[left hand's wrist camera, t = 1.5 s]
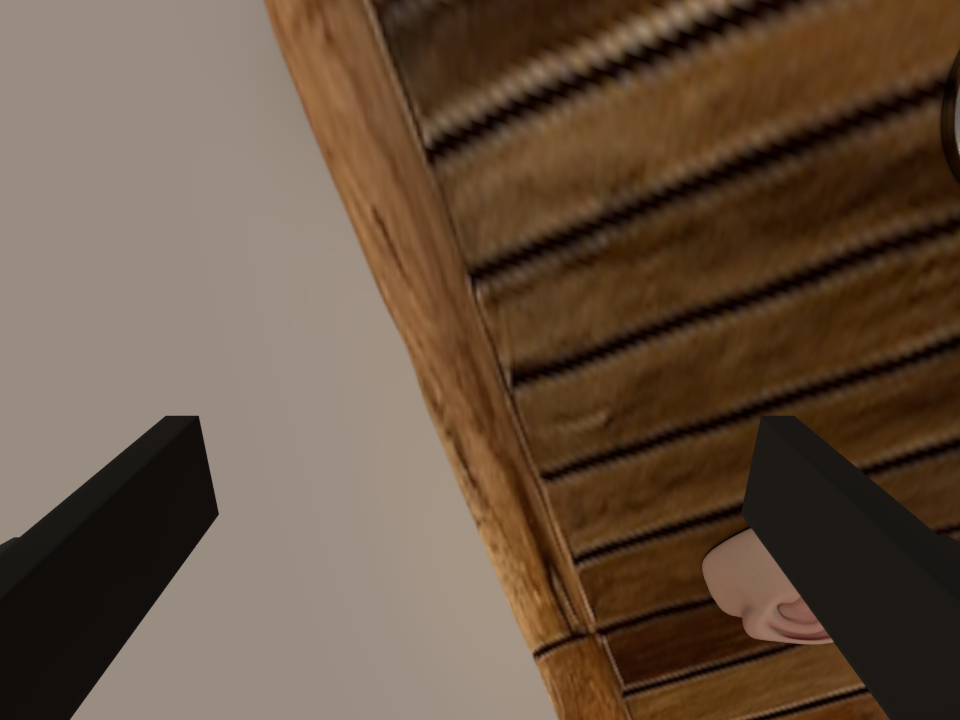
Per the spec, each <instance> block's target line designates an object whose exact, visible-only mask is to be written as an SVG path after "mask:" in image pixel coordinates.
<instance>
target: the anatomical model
mask: <svg viewBox="0 0 960 720" xmlns="http://www.w3.org/2000/svg"><path fill="white" fill-rule="evenodd" d="M702 570H703V575H704V578H705V581H706V583H707V586H708V588H709V591H710V593H711V595H712V597H713V598H714V600H715V601H716V603H717V604H718V606H719V607H720V608H721V609H722V610H723V611H724V612H726V613H727V614H730V615H733V616H737V617H742V620H743V626H744V629H745V631H746V632H747V634H748V635H750V636H751V637H753V638H756V639H761V640H769V641H778V642H787V643H797V644H825V643H832V642H833V640H832V639H831V638H830V636H829V635H828V633H827V632H826V631H825V629H824V628H823V626H822V625H821V624H820V622H819V621H818V620H817V618H816V617H815V615H814V614H813V613H812V611H811V610H810V609H809V607H808V606H807V604H806V603H805V602H804V600H803V599H802V598H801V596H800V595H799V593H798V592H797V591H796V589H795V588H794V587H793V585H792V584H791V582H790V581H789V580H788V578H787V577H786V575H785V574H784V573H783V571H782V570H781V569H780V567H779V566H778V564H777V563H776V562H775V560H774V559H773V558H772V556H771V555H770V553H769V552H768V551H767V549H766V548H765V547H764V545H763V544H762V542H761V541H760V540H759V538H758V537H757V536H756V534H755V533H754V531H753V530H752V529H751V528H750V529H747V530H745V531H743V532H741V533H739V534H737V535H735V536H733V537H732V538H730V539H728V540H726V541H725V542H723V543H722V544H720V545H719V546H717V547H716V548H714V549H713V550H712V551H711V552H709V553H708V554H707V556H706V557H705V559H704V561H703V563H702Z"/></svg>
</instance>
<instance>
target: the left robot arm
mask: <svg viewBox="0 0 960 720" xmlns="http://www.w3.org/2000/svg"><path fill="white" fill-rule="evenodd" d="M942 133H943V142H944V147H945V152H946V155H947V158H948V161H949V163H950V165H951V168H952V170H953V172H954V173H955V175H956V177H957V178H958V180H959V181H960V52H959V54H958V57H957V59H956V61H955V64H954V66H953V69H952V72H951V74H950V78H949V81H948V84H947V88H946V93H945V98H944V103H943V113H942ZM218 515H219V513H218V508H217V503H216V498H215V493H214V488H213V483H212V479H211V474H210V469H209V464H208V459H207V454H206V449H205V444H204V440H203V435H202V430H201V425H200V420H199V416H165V417H164V418H163V419H161V420H160V421H159V422H158V423H157V424H155V425H154V426H153V427H152V428H151V429H149V430H148V431H147V432H146V433H145V434H143V435H142V436H141V437H140V438H139V439H137V440H136V441H135V442H134V443H133V444H131V445H130V446H129V447H128V448H126V449H125V450H124V451H123V452H122V453H120V454H119V455H118V456H117V457H116V458H114V459H113V460H112V461H111V462H110V463H109V464H107V465H106V466H105V467H104V468H103V469H101V470H100V471H99V472H98V473H96V474H95V475H94V476H93V477H92V478H90V479H89V480H88V481H87V482H86V483H84V484H83V485H82V486H81V487H80V488H78V489H77V490H76V491H75V492H74V493H72V494H71V495H70V496H69V497H68V498H66V499H65V500H64V501H63V502H62V503H60V504H59V505H58V506H57V507H56V508H54V509H53V510H52V511H51V512H50V513H48V514H47V515H46V516H45V517H44V518H42V519H41V520H40V521H39V522H38V523H36V524H35V525H34V526H33V527H31V528H30V529H29V530H28V531H27V532H26V533H24V534H23V535H22V536H21V537H15V538H12V539H10V540H9V541H7V542H5V543H3V544H1V545H0V720H70V719H71V717H72V716H73V715H74V713H75V712H76V711H77V709H78V708H79V706H80V705H81V704H82V702H83V701H84V699H85V698H86V697H87V695H88V694H89V693H90V691H91V690H92V688H93V687H94V686H95V684H96V683H97V682H98V680H99V679H100V677H101V676H102V675H103V673H104V672H105V671H106V669H107V668H108V666H109V665H110V664H111V662H112V661H113V659H114V658H115V657H116V655H117V654H118V653H119V651H120V650H121V649H122V647H123V646H124V644H125V643H126V642H127V640H128V639H129V637H130V636H131V635H132V633H133V632H134V631H135V629H136V628H137V626H138V625H139V624H140V622H141V621H142V620H143V618H144V617H145V615H146V614H147V613H148V611H149V610H150V609H151V607H152V606H153V604H154V603H155V602H156V600H157V599H158V597H159V596H160V595H161V593H162V592H163V591H164V589H165V588H166V587H167V585H168V584H169V582H170V581H171V580H172V578H173V577H174V575H175V574H176V573H177V571H178V570H179V569H180V567H181V566H182V564H183V563H184V562H185V560H186V559H187V558H188V556H189V555H190V553H191V552H192V551H193V549H194V548H195V547H196V545H197V544H198V542H199V541H200V540H201V538H202V537H203V536H204V534H205V533H206V531H207V530H208V529H209V527H210V526H211V525H212V523H213V522H214V520H215V519H216V518H217V516H218ZM741 515H742V516H743V518H744V519H745V520H746V522H747V523H748V525H749V526H750V527H751V529H752V530H753V531H754V533H755V534H756V536H757V537H758V538H759V540H760V541H761V542H762V544H763V545H764V547H765V548H766V549H767V551H768V552H769V553H770V555H771V556H772V558H773V559H774V560H775V562H776V563H777V564H778V566H779V567H780V569H781V570H782V571H783V573H784V574H785V575H786V577H787V578H788V580H789V581H790V582H791V584H792V585H793V587H794V588H795V589H796V591H797V592H798V593H799V595H800V596H801V598H802V599H803V600H804V602H805V603H806V604H807V606H808V607H809V609H810V610H811V611H812V613H813V614H814V615H815V617H816V618H817V620H818V621H819V622H820V624H821V625H822V626H823V628H824V629H825V631H826V632H827V633H828V635H829V636H830V638H831V639H832V640H833V642H834V643H835V644H836V646H837V647H838V649H839V650H840V651H841V653H842V654H843V655H844V657H845V658H846V660H847V661H848V662H849V664H850V665H851V666H852V668H853V669H854V671H855V672H856V673H857V675H858V676H859V677H860V679H861V680H862V682H863V683H864V684H865V686H866V687H867V688H868V690H869V691H870V693H871V694H872V695H873V697H874V698H875V700H876V701H877V702H878V704H879V705H880V706H881V708H882V709H883V711H884V712H885V713H886V715H887V716H888V717H889V719H890V720H960V543H959V542H957V541H956V540H954V539H952V538H950V537H948V536H938V535H937V534H936V533H935V532H933V531H932V530H931V529H930V528H929V527H927V526H926V525H925V524H924V523H922V522H921V521H920V520H919V519H918V518H916V517H915V516H914V515H913V514H912V513H910V512H909V511H908V510H907V509H906V508H904V507H903V506H902V505H901V504H900V503H898V502H897V501H896V500H895V499H894V498H892V497H891V496H890V495H889V494H888V493H886V492H885V491H884V490H883V489H882V488H880V487H879V486H878V485H877V484H876V483H874V482H873V481H872V480H871V479H870V478H868V477H867V476H866V475H865V474H864V473H862V472H861V471H860V470H859V469H858V468H856V467H855V466H854V465H853V464H852V463H850V462H849V461H848V460H847V459H846V458H844V457H843V456H842V455H841V454H840V453H838V452H837V451H836V450H835V449H834V448H832V447H831V446H830V445H829V444H827V443H826V442H825V441H824V440H823V439H821V438H820V437H819V436H818V435H817V434H815V433H814V432H813V431H812V430H811V429H809V428H808V427H807V426H806V425H805V424H803V423H802V422H801V421H800V420H799V419H797V418H796V417H795V416H761V420H760V425H759V430H758V435H757V440H756V444H755V449H754V454H753V459H752V464H751V469H750V474H749V479H748V483H747V488H746V493H745V498H744V503H743V508H742V513H741Z"/></svg>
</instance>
